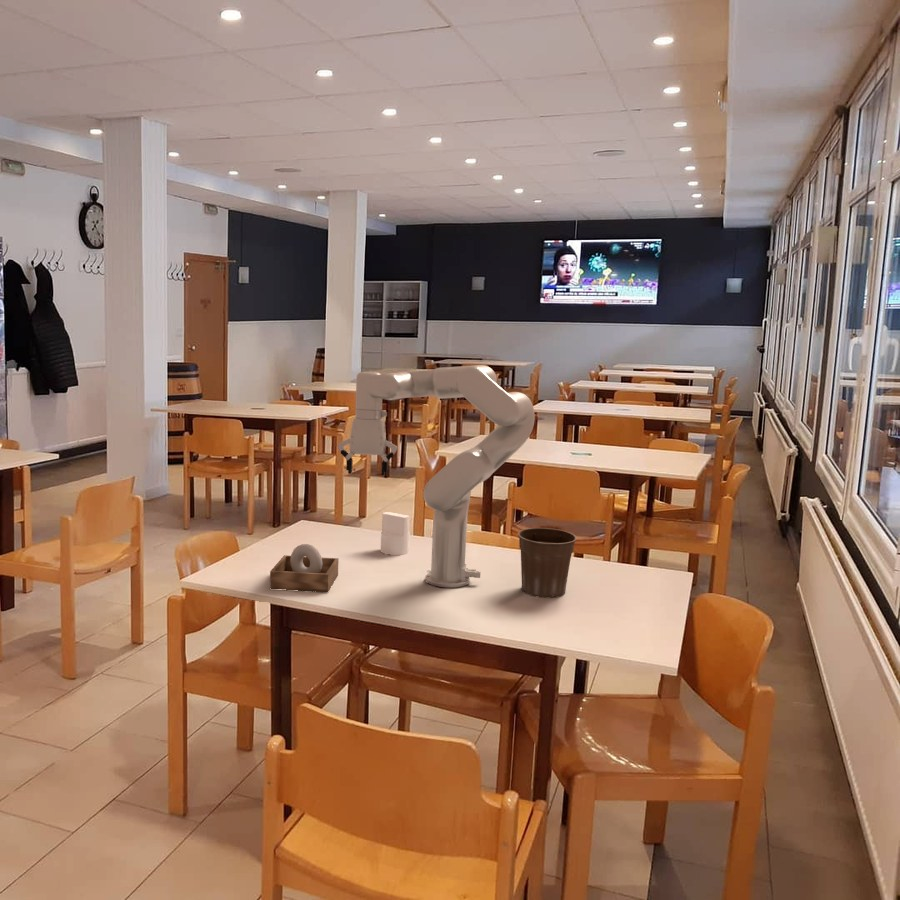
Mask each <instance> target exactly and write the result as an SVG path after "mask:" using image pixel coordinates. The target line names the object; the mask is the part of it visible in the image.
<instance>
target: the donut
mask: <svg viewBox="0 0 900 900" xmlns="http://www.w3.org/2000/svg"><path fill="white" fill-rule="evenodd" d="M290 556H291V559H290V562H291V567H292V570H293V571H294V572H306V573H320V571H321V569H322V557H323V556H322V555H321V553H320V551H319V550H318V549H317V548H316V547H315V546H313V545H311V544H308V543H302V544H300V545H297V546H296V547H295V548H294V549H293V551H292V552H291V555H290ZM304 556H305V557H308V559H309V560H310V567H309V568H307V567H305V566H304V564H303V557H304Z"/></svg>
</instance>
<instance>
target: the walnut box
mask: <svg viewBox="0 0 900 900" xmlns="http://www.w3.org/2000/svg"><path fill="white" fill-rule="evenodd" d="M321 557H322V569H321V571H320V573H306V572H294V571H293V570H292V567H291V562H290V559H291V555H283V556H282V557H281V559H279V561H278V562H277V563H276V564H275V565H274V567H273V568H272V569H271V570H269V589H270V588H271V589H286V590H285V591H288V590H298V591H297V592H305V591H312V592H311V593H323V592H328V591H329V592H330V590H331V588H332V587H333V585H334V583H335V582H336V579H337V578H338V577H339V557H323V556H321ZM303 564H304V566H305V567H307V568H309V567H310V560H309V559H308V557H306V556H304V557H303ZM334 581H335V582H334ZM331 586H332V587H331ZM313 591H314V592H313ZM315 591H316V592H315ZM329 592H328V593H329Z"/></svg>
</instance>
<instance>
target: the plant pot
mask: <svg viewBox="0 0 900 900" xmlns="http://www.w3.org/2000/svg"><path fill="white" fill-rule="evenodd" d="M517 538H518V539H519V543H518V544H519V549H520V565H521V566H520V568H521V569H520V570H521V572H520V573H521V574H520V575H521V576H520V577H521V590H522V591H523V592H525V593H526V594H528V595H529V594H530V595H531V596H533V597H536V596H539V597H538V598H545V597H551V598H552V597H556V596H559V597H561V595H562V596H564V595H565V593H566V589H567V584H568V583H567V582H568V575H569V571H570V564H571V559H572V554H573V552H574V547H575V543H576V541H577V539H578V537H577V535H575V534H574V533H572V532H569V531H567V530H562V529H556V528H548V527H530V528H524V529H521V530H519V531H518V532H517Z"/></svg>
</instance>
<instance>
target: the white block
mask: <svg viewBox="0 0 900 900" xmlns="http://www.w3.org/2000/svg"><path fill="white" fill-rule="evenodd" d="M381 515H382V519H381V532H380V533H381V534H380V552H383V553H386V554H385V555H387V554H391V555H390V556H404V555H407V554H409V553H410V519H411V517H410V515H407V514H401V513H396V512H391V511H386V512H385V511H384V512H383V513H382V514H381ZM408 552H409V553H408ZM383 553H382V554H383Z"/></svg>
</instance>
